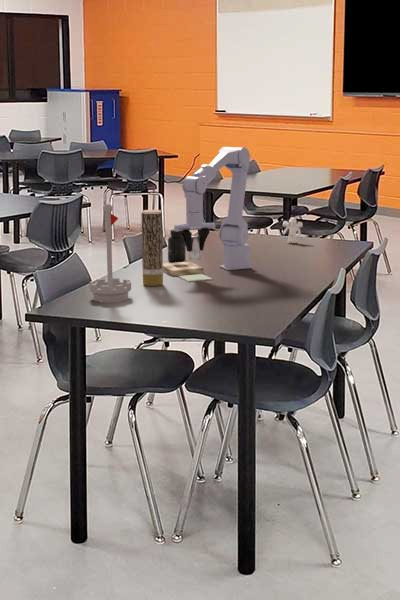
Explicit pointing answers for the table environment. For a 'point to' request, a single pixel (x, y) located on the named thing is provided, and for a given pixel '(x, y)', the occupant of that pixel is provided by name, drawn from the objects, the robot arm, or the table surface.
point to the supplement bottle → (176, 247)
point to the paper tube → (152, 247)
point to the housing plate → (182, 268)
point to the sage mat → (195, 277)
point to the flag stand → (110, 271)
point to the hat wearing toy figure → (292, 228)
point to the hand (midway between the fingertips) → (194, 250)
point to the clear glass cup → (195, 248)
